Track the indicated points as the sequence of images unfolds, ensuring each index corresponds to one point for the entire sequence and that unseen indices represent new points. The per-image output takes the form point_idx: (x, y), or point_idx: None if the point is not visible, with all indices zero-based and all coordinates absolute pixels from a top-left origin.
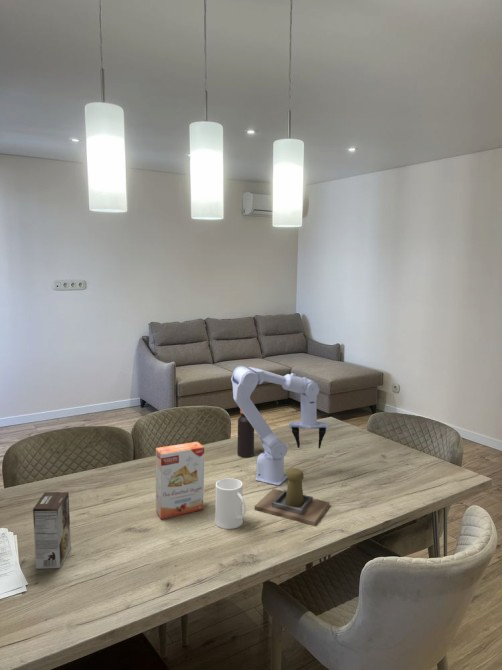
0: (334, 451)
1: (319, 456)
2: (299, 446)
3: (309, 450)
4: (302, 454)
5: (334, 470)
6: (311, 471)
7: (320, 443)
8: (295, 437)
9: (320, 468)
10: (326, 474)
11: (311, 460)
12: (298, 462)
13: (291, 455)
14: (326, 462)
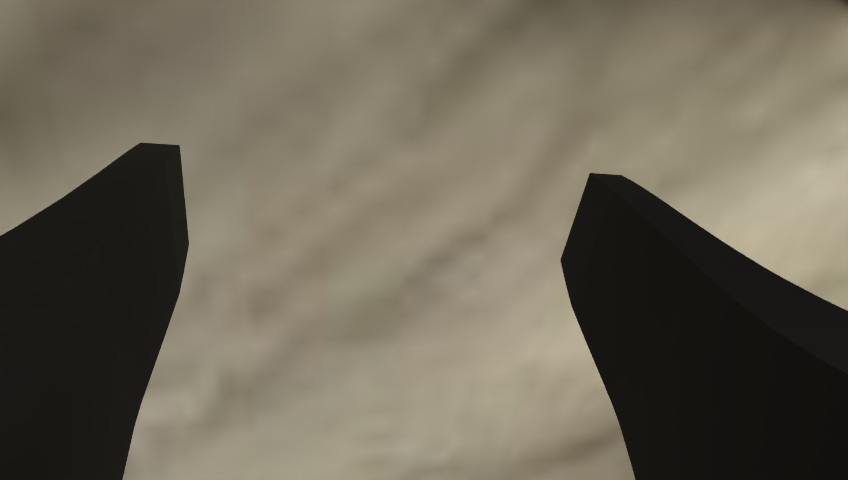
0: (136, 468)
1: (256, 389)
2: (584, 210)
3: (340, 463)
4: (402, 405)
5: (73, 131)
6: (337, 87)
7: (86, 190)
8: (819, 302)
9: (236, 167)
10: (153, 16)
11: (329, 319)
12: (456, 274)
13: (497, 383)
14: (184, 295)
